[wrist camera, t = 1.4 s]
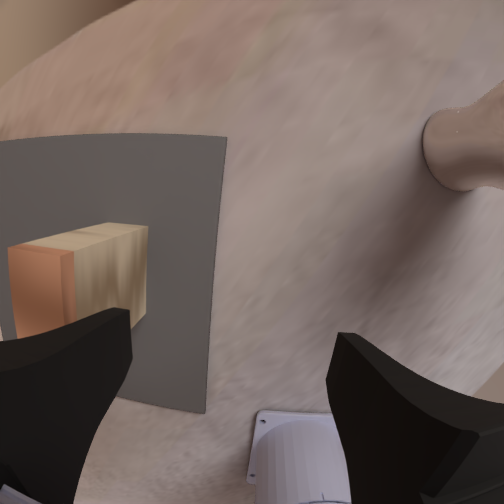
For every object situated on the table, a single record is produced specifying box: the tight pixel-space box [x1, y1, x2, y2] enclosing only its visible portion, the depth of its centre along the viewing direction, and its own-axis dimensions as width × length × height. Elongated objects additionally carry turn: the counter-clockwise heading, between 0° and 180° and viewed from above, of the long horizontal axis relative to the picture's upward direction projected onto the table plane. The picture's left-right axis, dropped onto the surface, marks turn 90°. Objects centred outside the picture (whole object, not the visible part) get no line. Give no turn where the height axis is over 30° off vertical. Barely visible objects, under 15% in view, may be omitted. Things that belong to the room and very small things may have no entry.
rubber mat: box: [0, 133, 227, 414], centre depth 21 cm, size 20×20×1 cm
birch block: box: [8, 222, 148, 339], centre depth 16 cm, size 6×3×10 cm, turn 174°
